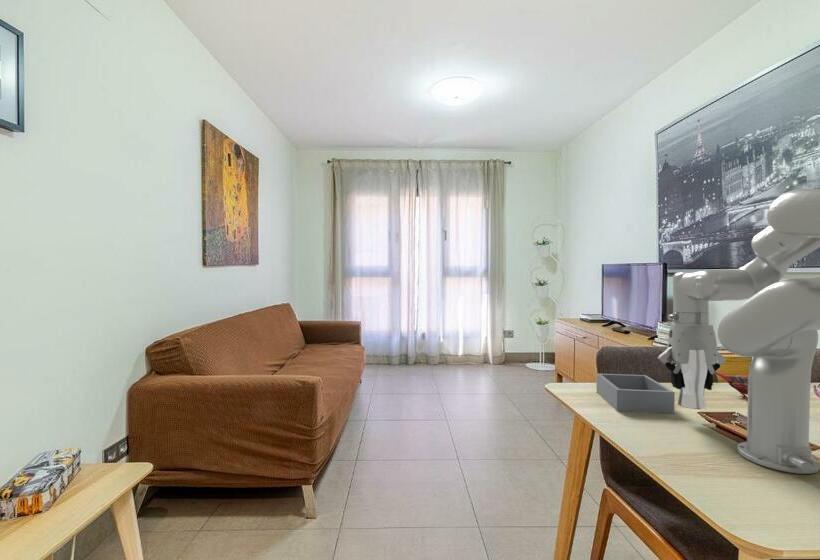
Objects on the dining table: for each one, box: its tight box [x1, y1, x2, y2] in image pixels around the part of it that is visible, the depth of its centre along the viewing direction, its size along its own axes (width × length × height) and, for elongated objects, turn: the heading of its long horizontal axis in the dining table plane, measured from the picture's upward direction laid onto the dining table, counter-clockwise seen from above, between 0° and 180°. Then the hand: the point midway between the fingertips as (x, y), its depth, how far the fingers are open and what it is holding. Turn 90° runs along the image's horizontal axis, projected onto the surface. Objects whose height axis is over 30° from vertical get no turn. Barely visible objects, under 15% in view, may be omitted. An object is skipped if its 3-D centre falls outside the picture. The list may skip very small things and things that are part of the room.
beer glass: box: [675, 350, 708, 410], centre depth 103 cm, size 7×7×15 cm
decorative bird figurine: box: [715, 371, 749, 401], centre depth 124 cm, size 3×18×10 cm, turn 14°
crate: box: [596, 373, 676, 414], centre depth 120 cm, size 18×15×6 cm
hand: (691, 387), depth 103 cm, fingers closed on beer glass, 6 cm apart
